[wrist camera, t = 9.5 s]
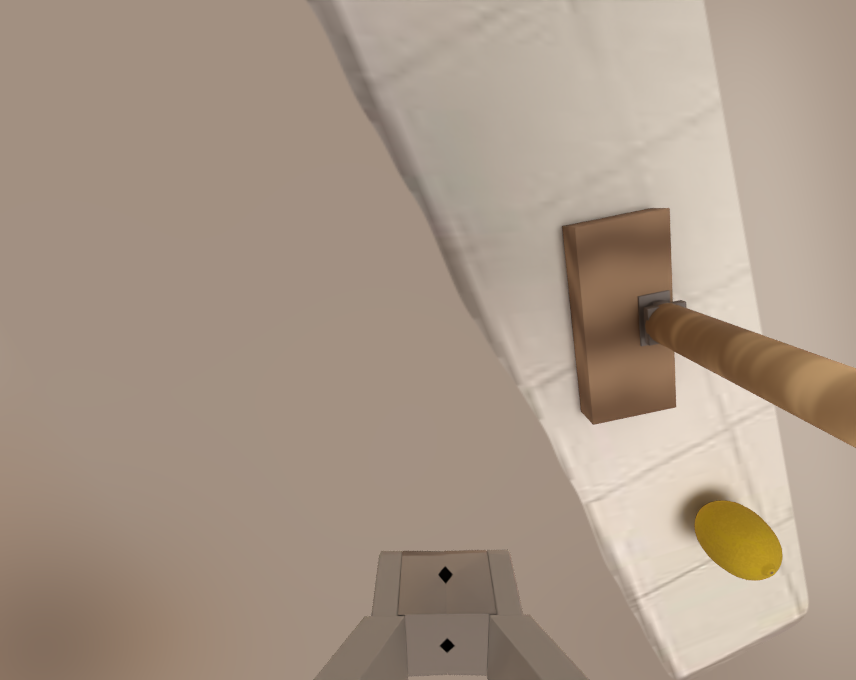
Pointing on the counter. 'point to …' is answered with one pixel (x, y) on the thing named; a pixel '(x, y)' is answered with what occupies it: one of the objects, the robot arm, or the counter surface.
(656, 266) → the brown wooden block
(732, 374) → the tan wooden peg
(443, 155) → the counter surface
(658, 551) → the counter surface
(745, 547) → the lemon
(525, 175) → the counter surface
